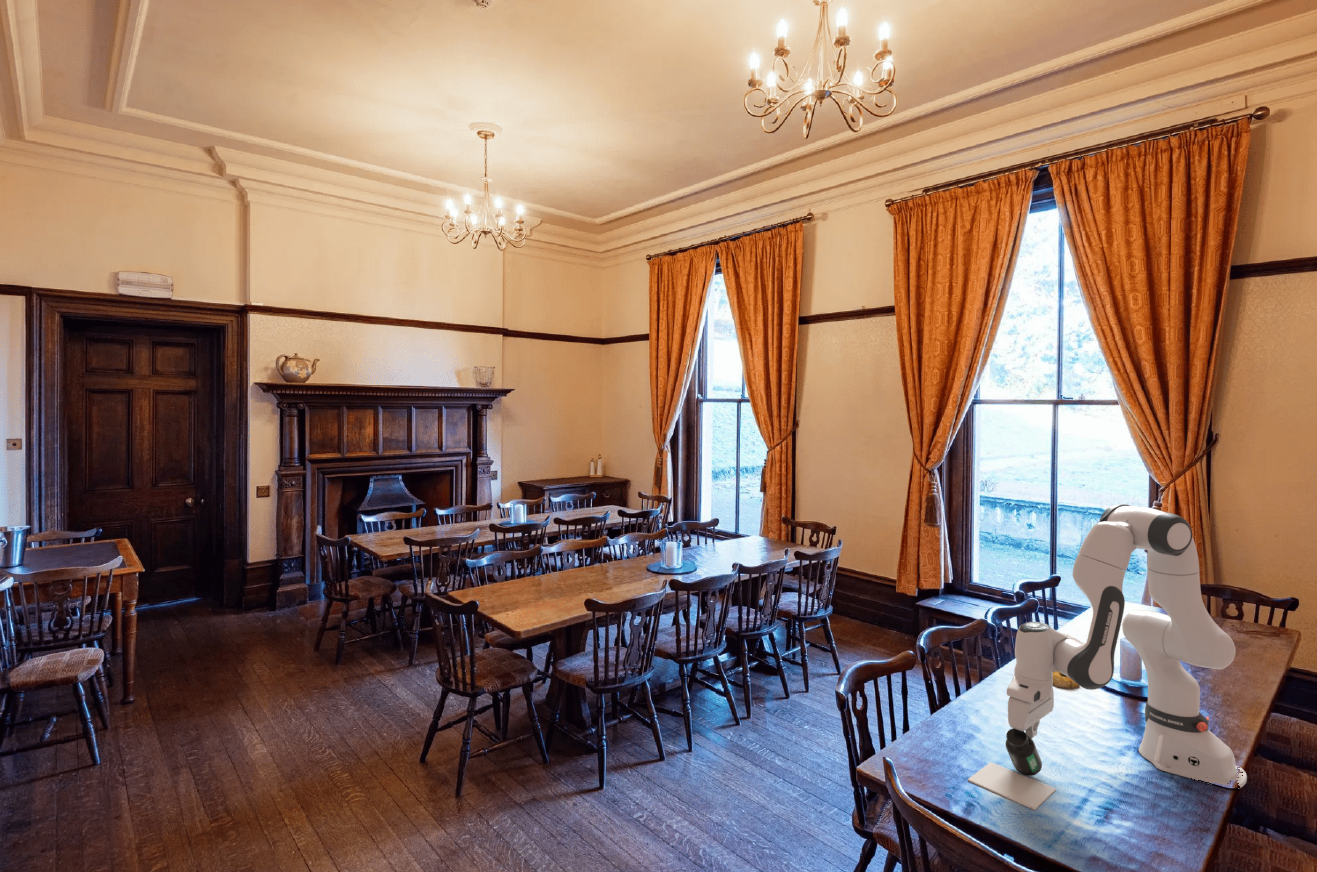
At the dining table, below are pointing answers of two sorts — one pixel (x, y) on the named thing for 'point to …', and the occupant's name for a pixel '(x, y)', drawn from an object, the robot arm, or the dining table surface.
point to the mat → (1012, 785)
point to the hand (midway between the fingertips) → (1031, 736)
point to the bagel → (1063, 681)
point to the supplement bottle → (1023, 752)
